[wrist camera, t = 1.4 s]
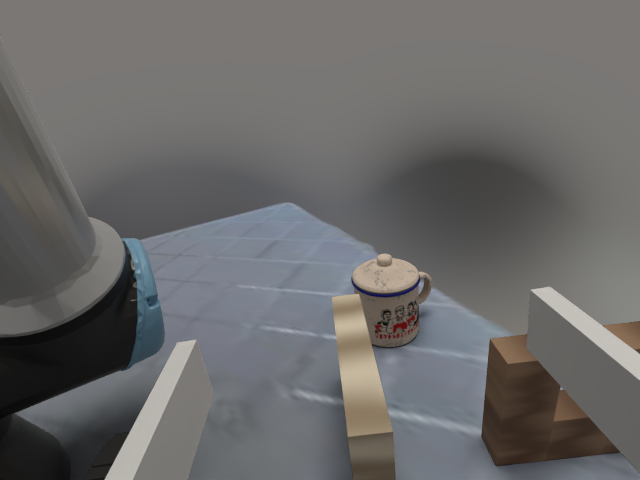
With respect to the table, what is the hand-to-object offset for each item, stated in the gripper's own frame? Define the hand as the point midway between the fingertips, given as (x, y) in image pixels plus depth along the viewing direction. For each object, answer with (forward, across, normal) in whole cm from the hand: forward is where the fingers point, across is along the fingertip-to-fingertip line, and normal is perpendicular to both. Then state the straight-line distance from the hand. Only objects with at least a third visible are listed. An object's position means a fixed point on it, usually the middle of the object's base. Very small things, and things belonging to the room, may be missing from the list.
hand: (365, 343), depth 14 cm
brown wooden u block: (+12, +18, -24) cm, 32 cm away
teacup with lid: (+33, +7, -23) cm, 40 cm away
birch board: (+15, 0, -23) cm, 28 cm away
